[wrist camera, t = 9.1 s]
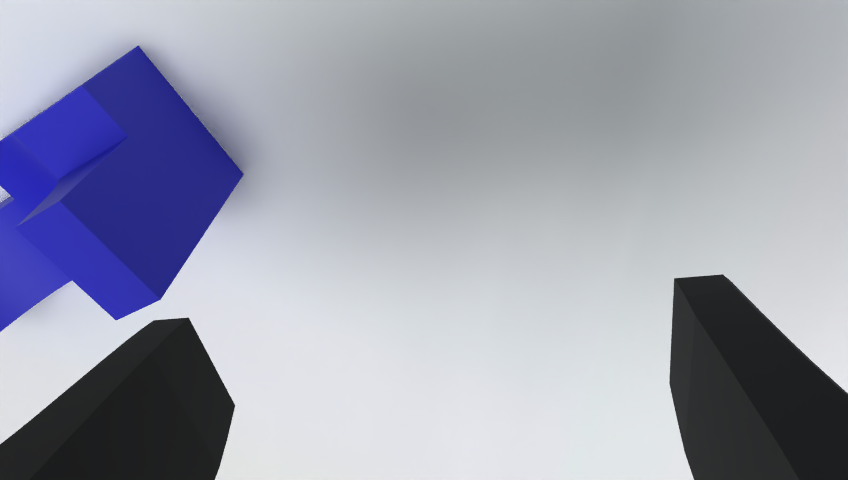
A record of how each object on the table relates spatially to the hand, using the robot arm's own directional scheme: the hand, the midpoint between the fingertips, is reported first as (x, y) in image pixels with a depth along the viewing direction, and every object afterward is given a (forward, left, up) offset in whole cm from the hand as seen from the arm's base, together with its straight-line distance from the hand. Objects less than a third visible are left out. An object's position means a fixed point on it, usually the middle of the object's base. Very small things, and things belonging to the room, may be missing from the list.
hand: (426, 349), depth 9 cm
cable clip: (+13, +1, -10) cm, 17 cm away
